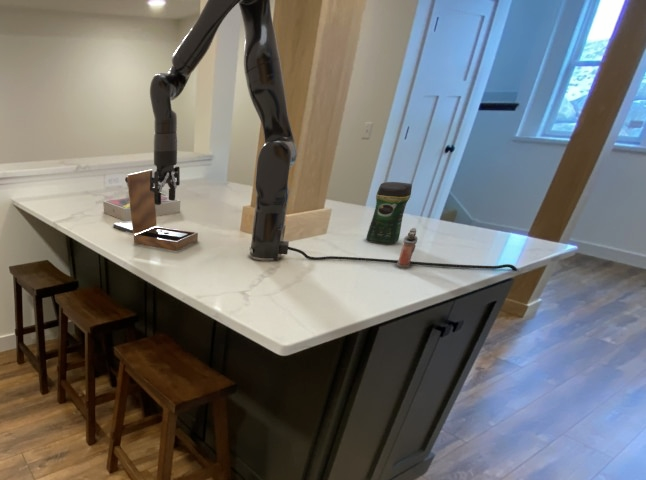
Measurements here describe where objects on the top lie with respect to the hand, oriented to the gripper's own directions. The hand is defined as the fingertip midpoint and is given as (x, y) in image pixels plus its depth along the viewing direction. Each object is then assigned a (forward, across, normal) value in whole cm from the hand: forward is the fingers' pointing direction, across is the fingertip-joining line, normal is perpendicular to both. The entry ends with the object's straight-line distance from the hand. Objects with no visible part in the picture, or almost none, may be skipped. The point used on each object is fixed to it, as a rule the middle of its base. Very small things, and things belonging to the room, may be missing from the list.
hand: (165, 202), depth 151 cm
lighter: (+14, +17, -74) cm, 77 cm away
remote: (+13, 0, 0) cm, 13 cm away
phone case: (+14, +11, +24) cm, 30 cm away
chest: (+14, 0, 0) cm, 14 cm away
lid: (+1, 0, +9) cm, 9 cm away
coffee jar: (+14, +39, -63) cm, 75 cm away
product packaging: (+14, +38, +39) cm, 56 cm away
